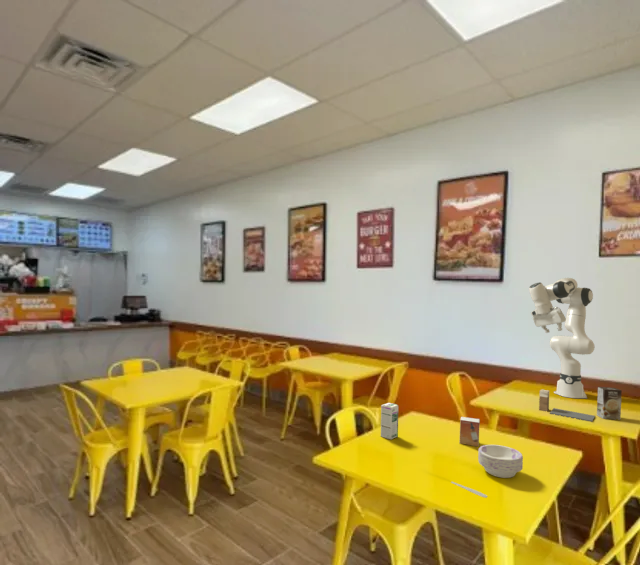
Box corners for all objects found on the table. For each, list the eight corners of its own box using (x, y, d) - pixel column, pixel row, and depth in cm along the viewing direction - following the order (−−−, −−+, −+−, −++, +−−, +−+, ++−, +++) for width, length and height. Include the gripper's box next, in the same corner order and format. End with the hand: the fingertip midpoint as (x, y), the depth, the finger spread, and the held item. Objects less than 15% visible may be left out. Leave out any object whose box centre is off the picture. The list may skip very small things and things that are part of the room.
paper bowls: (473, 462, 165) (473, 442, 165) (513, 465, 163) (514, 445, 163) (484, 480, 149) (485, 458, 149) (528, 483, 148) (529, 461, 148)
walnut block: (541, 408, 244) (541, 389, 244) (548, 409, 242) (549, 390, 242) (539, 410, 240) (539, 390, 240) (546, 411, 238) (547, 392, 238)
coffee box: (603, 418, 227) (603, 389, 227) (596, 415, 234) (597, 386, 234) (621, 420, 226) (621, 390, 227) (614, 416, 233) (614, 387, 233)
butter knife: (483, 498, 136) (488, 495, 138) (416, 469, 157) (421, 467, 159) (483, 500, 136) (488, 496, 138) (416, 471, 157) (421, 468, 159)
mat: (553, 409, 243) (553, 408, 243) (594, 416, 231) (594, 415, 231) (549, 413, 234) (549, 412, 234) (592, 421, 221) (592, 420, 221)
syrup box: (391, 439, 186) (392, 407, 186) (380, 436, 190) (381, 404, 190) (398, 436, 190) (399, 404, 190) (387, 433, 194) (388, 402, 194)
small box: (459, 443, 184) (460, 419, 184) (460, 439, 189) (460, 416, 189) (478, 446, 181) (479, 422, 181) (478, 442, 186) (479, 418, 186)
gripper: (562, 304, 241) (572, 327, 239) (536, 310, 260) (544, 332, 258) (554, 307, 239) (564, 331, 237) (528, 313, 258) (537, 335, 256)
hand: (554, 331), depth 248 cm, fingers open, 8 cm apart
